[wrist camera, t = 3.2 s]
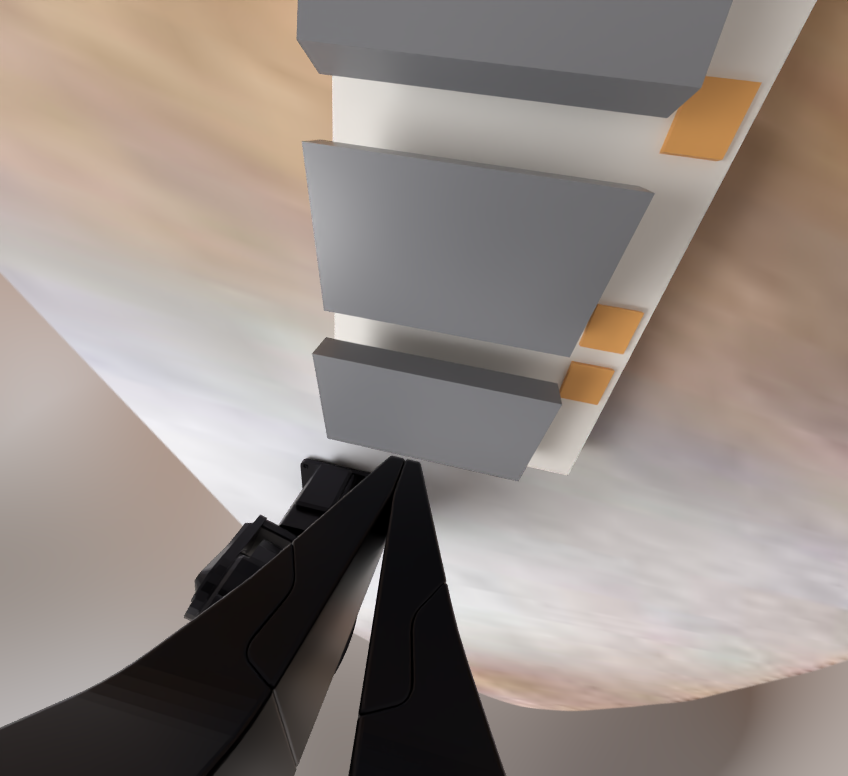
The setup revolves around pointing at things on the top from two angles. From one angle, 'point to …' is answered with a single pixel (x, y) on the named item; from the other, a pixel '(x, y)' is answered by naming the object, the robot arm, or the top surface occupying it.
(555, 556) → the top surface
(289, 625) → the robot arm
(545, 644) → the top surface
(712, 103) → the switch unit
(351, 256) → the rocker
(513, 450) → the rocker
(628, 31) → the plate
